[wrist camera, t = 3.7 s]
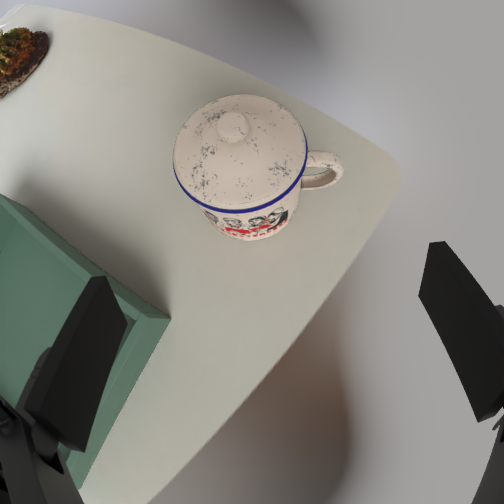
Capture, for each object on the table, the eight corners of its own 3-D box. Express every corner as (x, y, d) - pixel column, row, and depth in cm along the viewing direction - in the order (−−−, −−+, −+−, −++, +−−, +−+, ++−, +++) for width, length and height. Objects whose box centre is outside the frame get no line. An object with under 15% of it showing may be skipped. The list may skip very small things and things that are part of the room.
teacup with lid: (198, 245, 29) (147, 197, 17) (205, 153, 30) (168, 75, 19) (336, 244, 27) (369, 193, 16) (329, 151, 29) (349, 68, 18)
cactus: (-23, 96, 40) (-51, 72, 30) (26, 35, 42) (3, 8, 32) (7, 110, 37) (-28, 79, 27) (66, 37, 39) (41, 1, 29)
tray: (171, 318, 28) (149, 317, 23) (80, 488, 24) (56, 504, 20) (25, 206, 32) (-1, 193, 27) (-35, 359, 29) (-60, 359, 24)
